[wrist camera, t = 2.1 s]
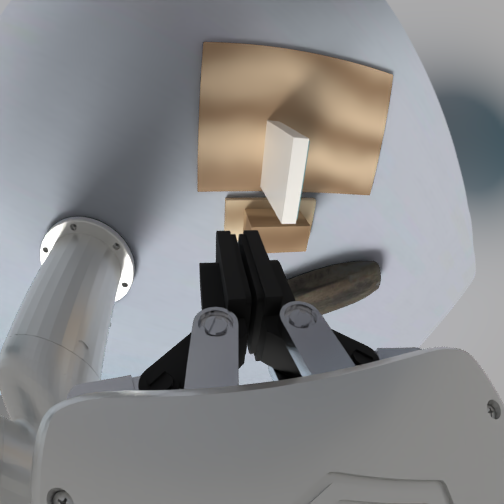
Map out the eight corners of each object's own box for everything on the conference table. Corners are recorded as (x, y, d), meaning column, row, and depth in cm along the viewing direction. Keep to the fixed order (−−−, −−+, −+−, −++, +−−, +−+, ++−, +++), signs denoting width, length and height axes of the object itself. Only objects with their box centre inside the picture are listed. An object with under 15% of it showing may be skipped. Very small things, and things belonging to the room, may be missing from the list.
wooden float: (306, 234, 35) (321, 258, 31) (223, 237, 33) (229, 262, 29) (313, 197, 32) (330, 217, 28) (225, 196, 30) (230, 218, 26)
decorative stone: (376, 252, 39) (390, 270, 36) (369, 285, 43) (382, 303, 40) (261, 277, 38) (268, 300, 34) (264, 311, 41) (271, 332, 38)
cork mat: (367, 193, 33) (369, 195, 32) (197, 189, 29) (197, 191, 28) (390, 74, 24) (393, 75, 24) (203, 42, 21) (203, 42, 20)
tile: (273, 186, 30) (298, 223, 23) (260, 186, 29) (281, 223, 23) (281, 121, 26) (311, 139, 19) (266, 120, 25) (293, 137, 19)
